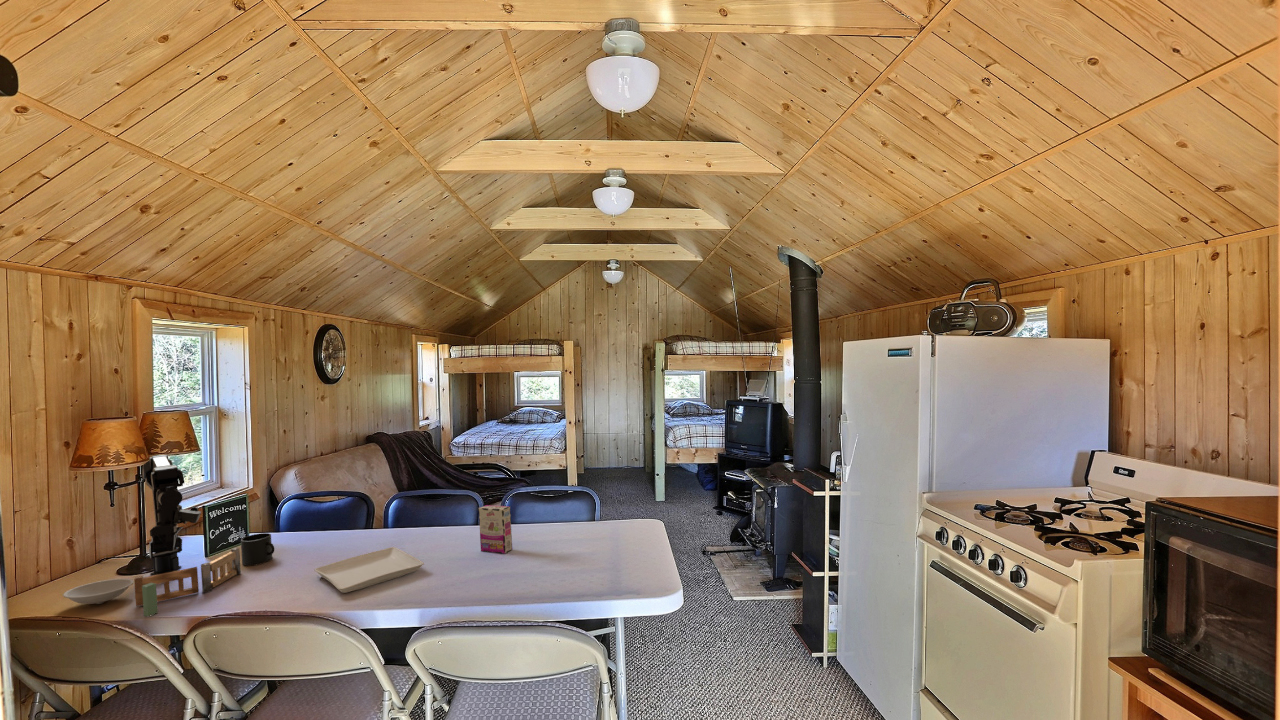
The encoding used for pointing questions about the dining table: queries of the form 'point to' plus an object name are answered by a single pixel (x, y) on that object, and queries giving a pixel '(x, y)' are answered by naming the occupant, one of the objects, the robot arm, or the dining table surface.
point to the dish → (98, 591)
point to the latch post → (149, 599)
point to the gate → (166, 579)
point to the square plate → (369, 569)
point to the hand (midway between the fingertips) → (171, 550)
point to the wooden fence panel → (232, 569)
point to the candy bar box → (495, 529)
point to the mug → (256, 549)
